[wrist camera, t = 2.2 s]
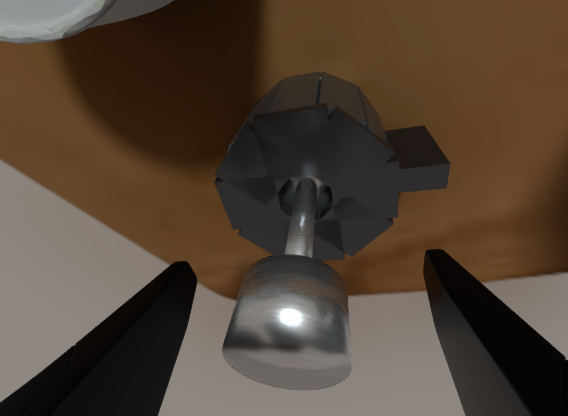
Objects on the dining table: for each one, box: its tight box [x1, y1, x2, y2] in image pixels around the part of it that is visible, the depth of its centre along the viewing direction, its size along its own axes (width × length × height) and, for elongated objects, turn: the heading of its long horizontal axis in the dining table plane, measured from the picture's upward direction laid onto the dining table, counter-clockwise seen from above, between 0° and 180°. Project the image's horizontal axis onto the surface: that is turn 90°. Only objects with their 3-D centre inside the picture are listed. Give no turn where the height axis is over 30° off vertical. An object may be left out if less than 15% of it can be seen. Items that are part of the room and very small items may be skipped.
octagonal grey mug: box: [214, 72, 450, 260], centre depth 14 cm, size 9×7×6 cm
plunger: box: [222, 176, 351, 390], centre depth 10 cm, size 5×5×8 cm
